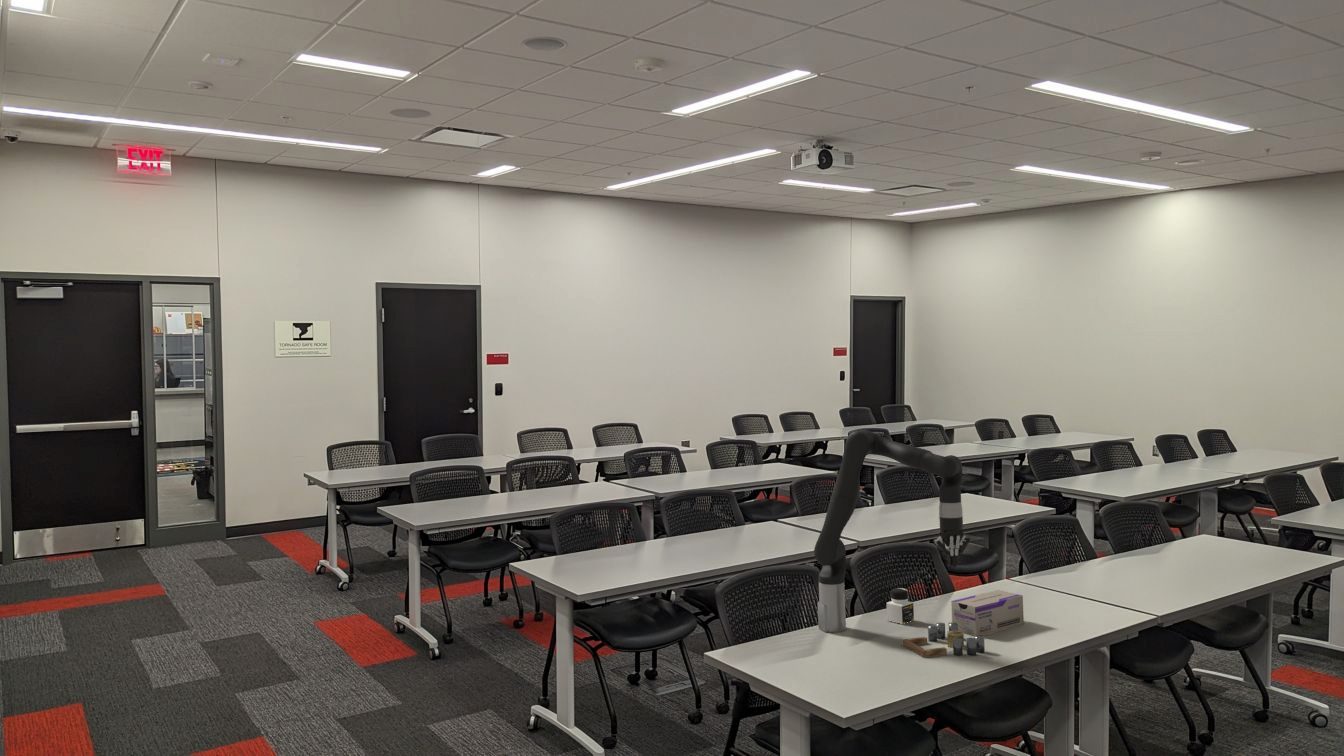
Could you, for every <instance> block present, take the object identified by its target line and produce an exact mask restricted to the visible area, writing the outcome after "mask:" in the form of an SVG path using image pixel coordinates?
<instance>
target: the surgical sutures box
mask: <svg viewBox="0 0 1344 756" xmlns="http://www.w3.org/2000/svg"><path fill="white" fill-rule="evenodd" d="M950 605H951V622H953V623H957V624H958V631H961V632H963V634H964V635H966V636H967V635H968V636H971V637H973V638H975V636H976V635H982V636H985V635H990V634H993V633H997V632H1001V631H1004V630H1009V629H1012V628H1015V627H1019V626H1023V625H1024V624H1025V623H1024V622H1025V621H1024V619H1025V618H1024V617H1025V616H1024V595H1022V594H1019V593H1014V592H1009V591H1004V590H1000V589H996V590H992V591H988V592H987V591H986V592H983V593H979V594H974V595H970V596H967V597H966V596H965V597H963V598H959V599H953V600H951V604H950Z"/></svg>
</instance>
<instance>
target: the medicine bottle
mask: <svg viewBox="0 0 1344 756" xmlns="http://www.w3.org/2000/svg"><path fill="white" fill-rule="evenodd" d="M890 593H891V601H888V602H886V621H887V622H888V621H892V622H897V623H900V624H899V625H901V624H904V623H907V622H910V621H913V620H914V621H915V615H914V614H915V613H914V612H915V609H914V602H913V601H909V590H908V589H905V588H902V587H898V588H897V587H896V588H893V589H891V591H890ZM914 621H913V622H914ZM892 622H891V623H892ZM897 623H896V624H897ZM910 623H911V622H910ZM907 624H908V623H907ZM904 625H905V624H904Z"/></svg>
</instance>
